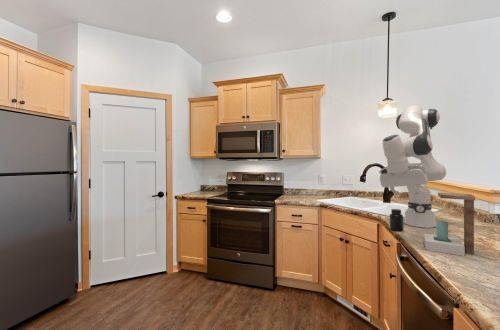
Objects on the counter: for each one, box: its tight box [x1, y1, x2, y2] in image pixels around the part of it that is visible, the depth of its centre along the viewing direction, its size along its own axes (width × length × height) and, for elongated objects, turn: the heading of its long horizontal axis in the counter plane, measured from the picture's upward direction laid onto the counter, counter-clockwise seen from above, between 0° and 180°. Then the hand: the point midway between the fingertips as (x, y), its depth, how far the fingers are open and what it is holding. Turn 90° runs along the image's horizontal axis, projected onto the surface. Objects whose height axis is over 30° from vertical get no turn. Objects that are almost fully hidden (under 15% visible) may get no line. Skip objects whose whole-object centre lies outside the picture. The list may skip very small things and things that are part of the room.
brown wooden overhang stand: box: [437, 192, 476, 255], centre depth 103 cm, size 10×11×25 cm
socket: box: [422, 233, 466, 257], centre depth 106 cm, size 13×13×4 cm
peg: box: [436, 220, 449, 242], centre depth 106 cm, size 4×4×12 cm
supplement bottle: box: [389, 208, 405, 233], centre depth 135 cm, size 7×7×12 cm
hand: (406, 194), depth 115 cm, fingers open, 8 cm apart
